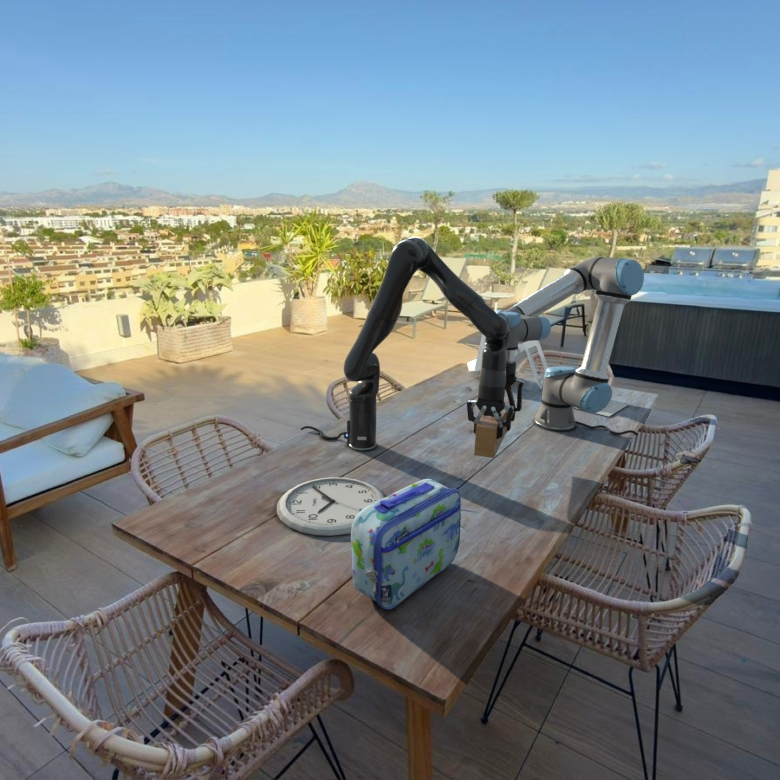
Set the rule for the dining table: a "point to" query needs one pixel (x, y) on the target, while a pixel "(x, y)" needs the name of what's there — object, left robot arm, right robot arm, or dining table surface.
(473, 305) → the left robot arm
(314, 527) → the wall clock
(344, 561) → the dining table surface
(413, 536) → the lunch box
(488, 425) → the bar
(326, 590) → the dining table surface
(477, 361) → the white plastic object
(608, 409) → the invitation card
